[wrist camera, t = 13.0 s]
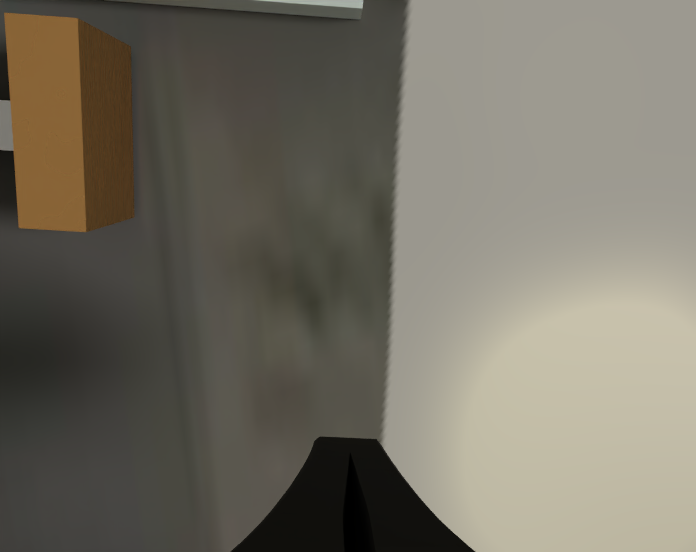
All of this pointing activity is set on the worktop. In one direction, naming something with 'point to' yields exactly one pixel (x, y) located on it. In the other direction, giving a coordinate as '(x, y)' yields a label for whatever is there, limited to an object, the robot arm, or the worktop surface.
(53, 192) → the vise jaw
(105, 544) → the worktop surface
